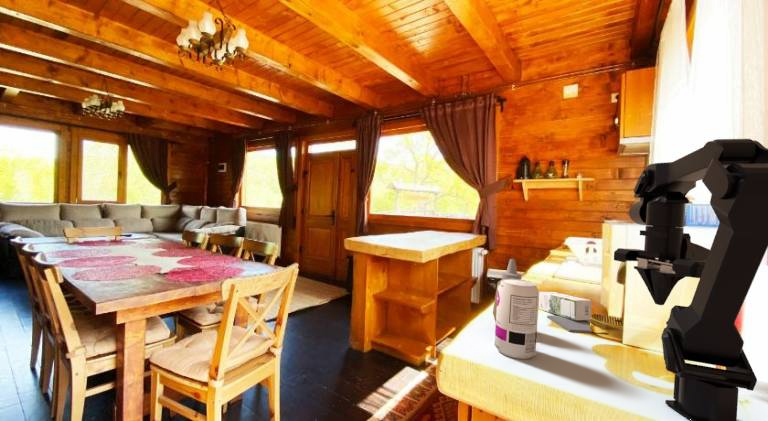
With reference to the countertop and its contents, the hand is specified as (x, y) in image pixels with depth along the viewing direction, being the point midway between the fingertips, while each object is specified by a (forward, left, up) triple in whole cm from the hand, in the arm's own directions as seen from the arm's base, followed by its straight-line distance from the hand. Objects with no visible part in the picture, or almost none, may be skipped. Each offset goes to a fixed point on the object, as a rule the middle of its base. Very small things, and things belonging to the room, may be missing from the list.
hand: (659, 304), depth 64 cm
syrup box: (+25, -2, -9) cm, 27 cm away
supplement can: (+5, +26, -13) cm, 30 cm away
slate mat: (+24, +1, -13) cm, 28 cm away
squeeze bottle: (+19, +22, -13) cm, 32 cm away
